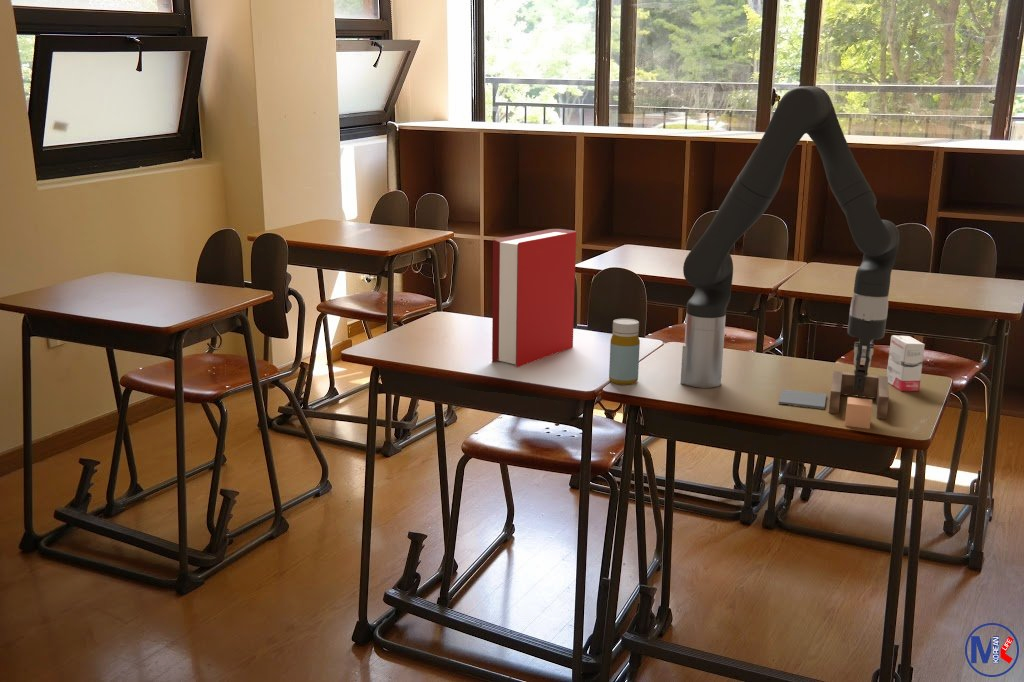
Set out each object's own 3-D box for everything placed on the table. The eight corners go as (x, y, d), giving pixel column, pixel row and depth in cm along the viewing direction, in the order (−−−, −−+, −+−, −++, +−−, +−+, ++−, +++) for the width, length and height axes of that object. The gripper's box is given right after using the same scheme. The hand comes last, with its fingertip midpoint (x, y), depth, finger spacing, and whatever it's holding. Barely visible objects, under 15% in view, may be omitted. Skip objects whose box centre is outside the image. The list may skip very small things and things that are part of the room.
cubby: (828, 412, 214) (830, 391, 213) (831, 391, 229) (833, 371, 228) (886, 419, 210) (888, 397, 209) (885, 397, 226) (887, 376, 224)
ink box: (920, 391, 230) (926, 343, 227) (900, 391, 230) (905, 343, 227) (904, 381, 239) (909, 334, 236) (884, 381, 238) (890, 334, 235)
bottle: (613, 375, 239) (616, 317, 236) (641, 379, 237) (644, 319, 233) (605, 383, 233) (607, 323, 229) (633, 387, 231) (636, 326, 227)
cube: (844, 426, 206) (847, 403, 204) (845, 418, 210) (847, 397, 209) (869, 429, 204) (872, 406, 203) (869, 421, 209) (872, 399, 207)
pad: (778, 404, 219) (778, 401, 219) (782, 391, 228) (782, 389, 228) (824, 409, 216) (824, 406, 216) (826, 396, 225) (826, 394, 225)
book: (516, 367, 246) (518, 242, 238) (492, 362, 250) (493, 239, 242) (575, 346, 267) (579, 231, 259) (551, 341, 272) (554, 228, 264)
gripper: (850, 306, 213) (841, 381, 218) (849, 319, 201) (839, 398, 206) (886, 309, 211) (876, 385, 215) (887, 323, 199) (876, 402, 203)
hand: (858, 391), depth 210 cm, fingers closed
